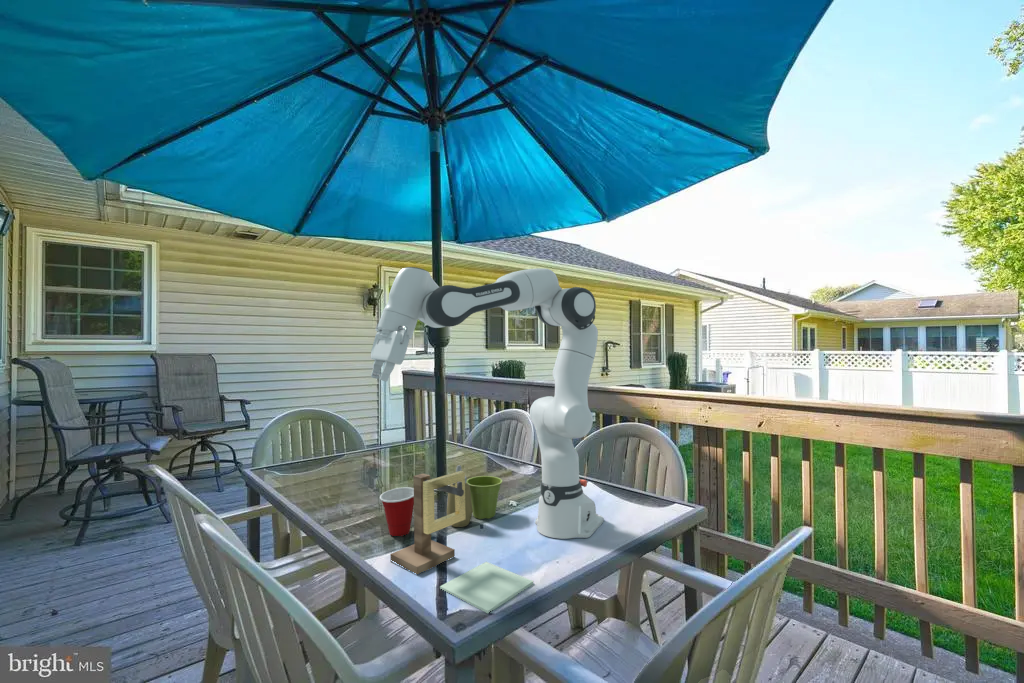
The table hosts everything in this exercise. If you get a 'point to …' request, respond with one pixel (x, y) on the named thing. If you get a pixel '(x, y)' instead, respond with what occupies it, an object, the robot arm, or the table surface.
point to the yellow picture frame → (428, 502)
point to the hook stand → (424, 535)
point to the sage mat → (487, 586)
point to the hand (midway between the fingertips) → (378, 379)
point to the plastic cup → (398, 509)
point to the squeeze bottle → (467, 503)
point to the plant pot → (484, 495)
